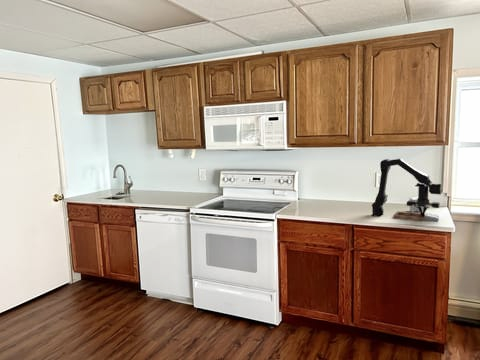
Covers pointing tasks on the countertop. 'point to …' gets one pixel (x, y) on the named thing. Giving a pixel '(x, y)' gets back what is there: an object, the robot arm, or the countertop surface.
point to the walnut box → (408, 216)
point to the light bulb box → (414, 206)
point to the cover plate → (431, 217)
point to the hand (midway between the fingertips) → (422, 216)
